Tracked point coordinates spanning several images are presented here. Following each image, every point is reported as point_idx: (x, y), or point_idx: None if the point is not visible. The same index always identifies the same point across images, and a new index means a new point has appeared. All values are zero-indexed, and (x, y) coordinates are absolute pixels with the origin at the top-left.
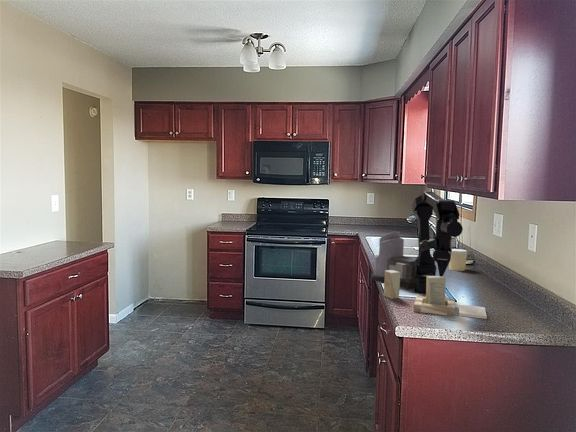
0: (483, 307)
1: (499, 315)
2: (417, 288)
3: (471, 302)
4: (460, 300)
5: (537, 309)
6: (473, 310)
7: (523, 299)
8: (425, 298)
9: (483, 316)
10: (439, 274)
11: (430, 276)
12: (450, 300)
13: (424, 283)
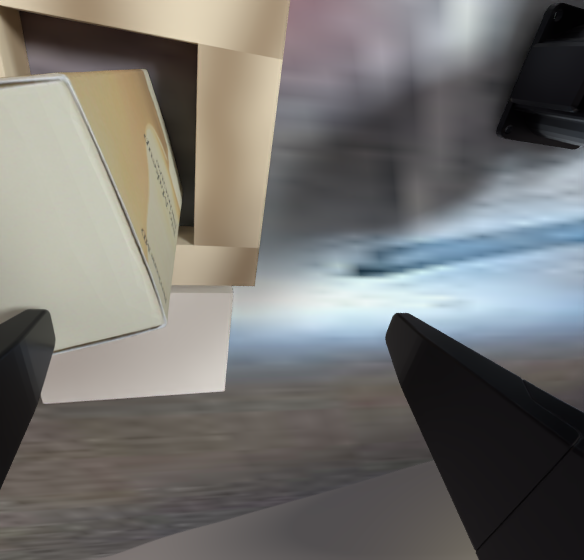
0: (218, 387)
1: (151, 425)
2: (577, 35)
3: (349, 336)
4: (380, 294)
5: (295, 494)
6: (129, 355)
7: (416, 463)
8: (217, 71)
9: (42, 389)
10: (4, 324)
11: (9, 154)
12: (224, 262)
13: (569, 98)
